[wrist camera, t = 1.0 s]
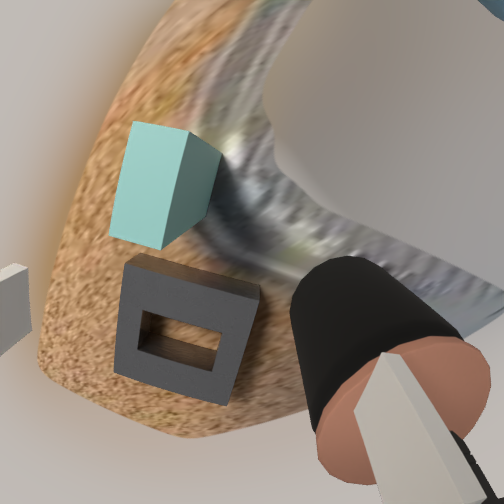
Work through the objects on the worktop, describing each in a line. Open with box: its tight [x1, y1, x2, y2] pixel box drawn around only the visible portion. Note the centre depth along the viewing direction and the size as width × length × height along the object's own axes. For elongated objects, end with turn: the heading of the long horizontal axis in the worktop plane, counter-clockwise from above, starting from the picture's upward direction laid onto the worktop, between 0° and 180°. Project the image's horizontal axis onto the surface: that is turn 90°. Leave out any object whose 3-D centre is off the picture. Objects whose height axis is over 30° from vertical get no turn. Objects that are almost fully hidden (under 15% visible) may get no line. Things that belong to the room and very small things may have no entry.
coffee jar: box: [290, 256, 491, 485], centre depth 22 cm, size 11×11×18 cm
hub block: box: [114, 253, 260, 406], centre depth 30 cm, size 12×12×4 cm
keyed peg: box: [109, 121, 222, 250], centre depth 22 cm, size 6×3×14 cm, turn 165°
